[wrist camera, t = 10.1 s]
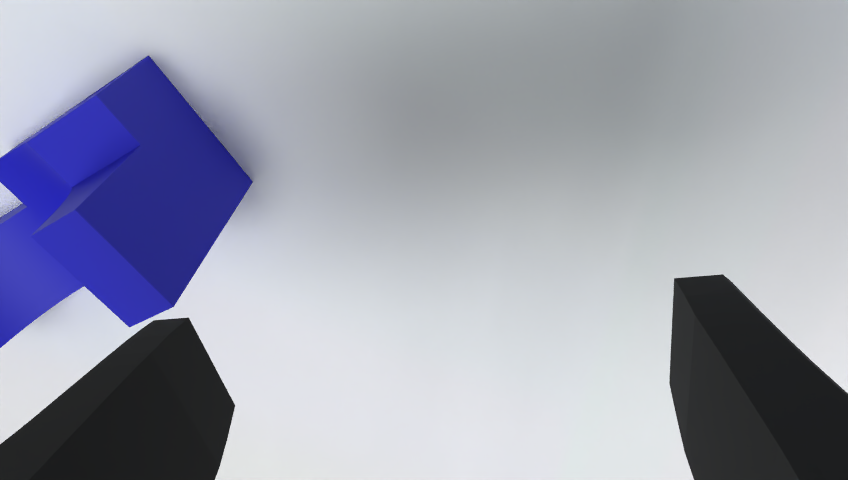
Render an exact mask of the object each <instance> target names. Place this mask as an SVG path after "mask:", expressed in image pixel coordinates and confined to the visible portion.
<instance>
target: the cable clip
mask: <svg viewBox="0 0 848 480" xmlns="http://www.w3.org/2000/svg"><path fill="white" fill-rule="evenodd" d="M0 182H1V183H2V184H3V185H4V186H5V187H6V188H7V189H9V190H10V191H11V192H12V193H13V194H14V195H15V196H16V197H17V198H18V199H19V200H20V201H21V202H22V203H23V204H21V205H20V206H18V207H17V208H15V209H13V210H12V211H10V212H9V213H7V214H5V215H4V216H2V217H1V218H0V348H1V347H2V346H3V345H4V344H6V343H7V342H8V341H9V340H10V339H12V338H13V337H14V336H15V335H16V334H18V333H19V332H20V331H21V330H23V329H24V328H25V327H26V326H28V325H29V324H30V323H32V322H33V321H34V320H35V319H37V318H38V317H39V316H41V315H42V314H43V313H45V312H46V311H47V310H49V309H50V308H52V307H53V306H54V305H56V304H57V303H59V302H60V301H62V300H63V299H65V298H66V297H68V296H69V295H71V294H72V293H74V292H75V291H77V290H78V289H80V288H82V287H83V286H85V287H86V288H87V289H88V290H89V291H90V292H92V293H93V294H94V295H95V296H96V297H97V298H98V299H99V300H100V301H101V302H102V303H104V304H105V305H106V306H107V307H108V308H109V309H110V310H111V311H112V312H113V313H114V314H116V315H117V316H118V317H119V318H120V319H121V320H122V321H123V322H124V323H125V324H126V325H128V326H129V327H131V326H133V325H135V324H138V323H140V322H142V321H144V320H146V319H148V318H150V317H153V316H155V315H157V314H159V313H161V312H163V311H165V310H168V309H170V308H172V307H174V305H175V304H176V302H177V301H178V299H179V297H180V296H181V294H182V293H183V291H184V290H185V288H186V286H187V285H188V283H189V282H190V280H191V278H192V277H193V275H194V274H195V272H196V271H197V269H198V267H199V266H200V264H201V263H202V261H203V260H204V258H205V256H206V255H207V253H208V252H209V250H210V249H211V247H212V245H213V244H214V242H215V241H216V239H217V237H218V236H219V234H220V233H221V231H222V230H223V228H224V226H225V225H226V223H227V222H228V220H229V219H230V217H231V215H232V214H233V212H234V211H235V209H236V208H237V206H238V204H239V203H240V201H241V200H242V198H243V196H244V195H245V193H246V192H247V190H248V189H249V187H250V185H251V184H252V180H251V179H250V178H249V177H248V175H247V174H246V173H245V172H244V171H243V169H242V168H241V167H240V166H239V165H238V163H237V162H236V161H235V160H234V158H233V157H232V156H231V155H230V154H229V152H228V151H227V150H226V149H225V148H224V146H223V145H222V144H221V143H220V141H219V140H218V139H217V138H216V137H215V135H214V134H213V133H212V132H211V131H210V129H209V128H208V127H207V126H206V125H205V123H204V122H203V121H202V120H201V118H200V117H199V116H198V115H197V114H196V112H195V111H194V110H193V109H192V108H191V106H190V105H189V104H188V103H187V101H186V100H185V99H184V98H183V97H182V95H181V94H180V93H179V92H178V91H177V89H176V88H175V87H174V86H173V84H172V83H171V82H170V81H169V80H168V78H167V77H166V76H165V75H164V74H163V72H162V71H161V70H160V69H159V67H158V66H157V65H156V64H155V63H154V61H153V60H152V59H151V58H150V57H149V56H147V57H146V58H144V59H143V60H141V61H140V62H138V63H137V64H136V65H134V66H133V67H131V68H130V69H128V70H127V71H125V72H124V73H122V74H121V75H120V76H118V77H117V78H115V79H114V80H112V81H111V82H109V83H108V84H106V85H105V86H104V87H102V88H101V89H99V90H98V91H96V92H95V93H93V94H92V95H90V96H89V97H88V98H86V99H85V100H83V101H82V102H80V103H79V104H77V105H76V106H74V107H73V108H72V109H70V110H69V111H67V112H66V113H64V114H63V115H61V116H60V117H58V118H57V119H56V120H54V121H53V122H51V123H50V124H48V125H47V126H45V127H44V128H42V129H41V130H40V131H38V132H37V133H35V134H34V135H32V136H31V137H29V138H28V139H26V140H25V141H23V142H22V143H21V144H19V145H18V146H16V147H15V148H13V149H12V150H11V151H9V152H8V153H6V154H5V155H4V156H2V157H1V158H0Z"/></svg>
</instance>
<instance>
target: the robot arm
mask: <svg viewBox="0 0 848 480" xmlns="http://www.w3.org/2000/svg"><path fill="white" fill-rule="evenodd" d="M670 388H671V392H672V397H673V402H674V406H675V411H676V416H677V420H678V425H679V429H680V433H681V438H682V442H683V446H684V450H685V454H686V457H687V460H688V463H689V466H690V469H691V472H692V475H693V478H694V480H848V393H846V392H845V391H844V390H843V389H842V388H841V387H840V386H839V385H838V384H837V383H835V382H834V381H833V380H832V379H831V378H830V377H829V376H828V375H827V374H825V373H824V372H823V371H822V370H821V369H820V368H819V367H818V366H817V365H815V364H814V363H813V362H812V361H811V360H810V359H809V358H808V357H807V356H806V355H805V354H804V353H803V352H802V351H801V350H800V349H798V348H797V347H796V346H795V345H794V344H793V343H792V342H791V341H790V340H789V339H788V338H787V337H786V336H785V335H784V334H783V333H782V332H781V331H780V330H779V329H778V328H777V327H776V326H775V325H774V324H773V323H772V322H771V321H770V320H769V319H768V318H767V317H766V316H765V315H764V314H763V313H762V312H761V311H760V310H759V309H758V308H757V307H756V306H755V305H754V304H753V303H752V302H751V301H750V300H749V299H748V298H747V297H746V296H745V295H744V294H743V293H742V292H741V291H740V290H739V289H738V288H737V287H736V286H735V285H734V284H733V283H732V282H731V281H730V280H729V279H728V278H726V277H725V276H724V275H711V276H699V277H687V278H674V296H673V318H672V340H671V361H670ZM234 408H235V404H234V403H233V401H232V399H231V397H230V395H229V393H228V391H227V389H226V387H225V386H224V384H223V382H222V380H221V378H220V376H219V374H218V372H217V370H216V369H215V367H214V365H213V363H212V361H211V359H210V357H209V355H208V353H207V352H206V350H205V348H204V346H203V344H202V342H201V340H200V338H199V336H198V335H197V333H196V331H195V329H194V327H193V325H192V323H191V321H190V319H189V318H179V319H166V320H154V321H152V322H151V323H150V324H148V325H147V326H145V327H144V328H143V329H141V330H140V331H139V332H137V333H136V334H135V335H133V336H132V337H131V338H129V339H128V340H127V341H126V342H124V343H123V344H122V345H121V346H119V347H118V348H117V349H116V350H115V351H113V352H112V353H111V354H110V355H108V356H107V357H106V358H105V359H104V360H102V361H101V362H100V363H99V364H98V365H96V366H95V367H94V368H93V369H92V370H90V371H89V372H88V373H87V374H86V375H84V376H83V377H82V378H81V379H80V380H78V381H77V382H76V383H75V384H74V385H72V386H71V387H70V388H69V389H68V390H66V391H65V392H64V393H63V394H62V395H60V396H59V397H58V398H57V399H56V400H54V401H53V402H52V403H51V404H50V405H48V406H47V407H46V408H45V409H44V410H42V411H41V412H40V413H39V414H38V415H36V416H35V417H34V418H33V419H32V420H30V421H29V422H28V423H27V424H26V425H24V426H23V427H22V428H21V429H19V430H18V431H17V432H16V433H14V434H13V435H12V436H10V437H9V438H8V439H7V440H5V441H4V442H3V443H2V444H0V480H215V477H216V475H217V472H218V469H219V467H220V463H221V459H222V456H223V452H224V449H225V445H226V441H227V438H228V433H229V429H230V425H231V420H232V416H233V412H234Z"/></svg>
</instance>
